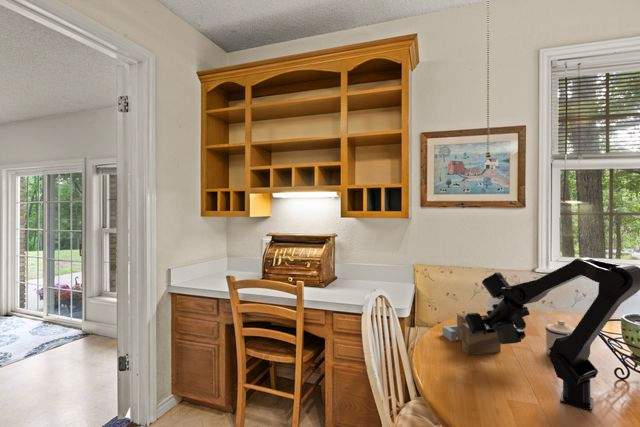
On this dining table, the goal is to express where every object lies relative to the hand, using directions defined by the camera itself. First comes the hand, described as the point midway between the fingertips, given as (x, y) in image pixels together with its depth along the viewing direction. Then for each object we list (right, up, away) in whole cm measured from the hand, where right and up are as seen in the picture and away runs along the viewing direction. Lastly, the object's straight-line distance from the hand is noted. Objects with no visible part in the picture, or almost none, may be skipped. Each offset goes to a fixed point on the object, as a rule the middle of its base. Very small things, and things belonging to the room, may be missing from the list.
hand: (484, 332), depth 117 cm
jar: (+21, -7, +27) cm, 35 cm away
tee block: (-1, -7, +7) cm, 10 cm away
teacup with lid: (+26, -7, -1) cm, 27 cm away
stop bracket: (-2, -7, +16) cm, 17 cm away
